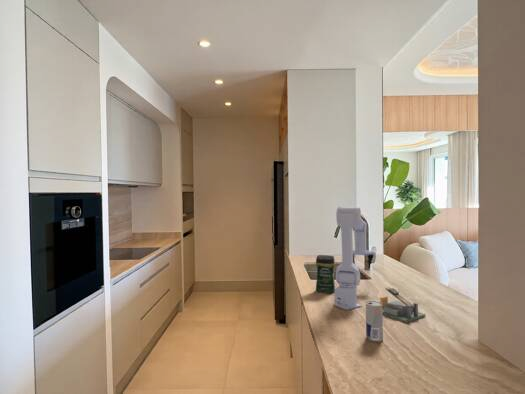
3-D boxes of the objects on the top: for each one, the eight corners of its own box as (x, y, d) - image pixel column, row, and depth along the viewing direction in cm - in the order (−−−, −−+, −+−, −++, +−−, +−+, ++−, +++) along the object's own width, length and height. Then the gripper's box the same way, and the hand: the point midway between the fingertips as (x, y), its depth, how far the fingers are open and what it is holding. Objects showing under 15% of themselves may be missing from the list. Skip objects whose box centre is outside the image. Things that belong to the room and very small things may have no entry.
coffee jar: (314, 292, 161) (314, 256, 161) (317, 288, 169) (317, 253, 169) (334, 294, 158) (333, 257, 158) (336, 290, 165) (335, 254, 165)
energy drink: (369, 334, 111) (369, 299, 111) (385, 338, 108) (384, 302, 108) (363, 339, 107) (363, 303, 107) (379, 343, 104) (379, 307, 104)
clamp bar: (415, 308, 125) (416, 305, 125) (410, 309, 124) (411, 306, 124) (389, 288, 136) (390, 286, 135) (384, 289, 135) (385, 287, 134)
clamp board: (406, 322, 121) (406, 308, 121) (372, 310, 135) (372, 297, 135) (425, 316, 127) (425, 302, 127) (391, 305, 141) (391, 292, 141)
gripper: (375, 241, 167) (376, 266, 169) (347, 240, 173) (348, 264, 175) (374, 245, 161) (375, 271, 162) (345, 244, 166) (346, 269, 168)
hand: (361, 268), depth 168 cm, fingers open, 7 cm apart
